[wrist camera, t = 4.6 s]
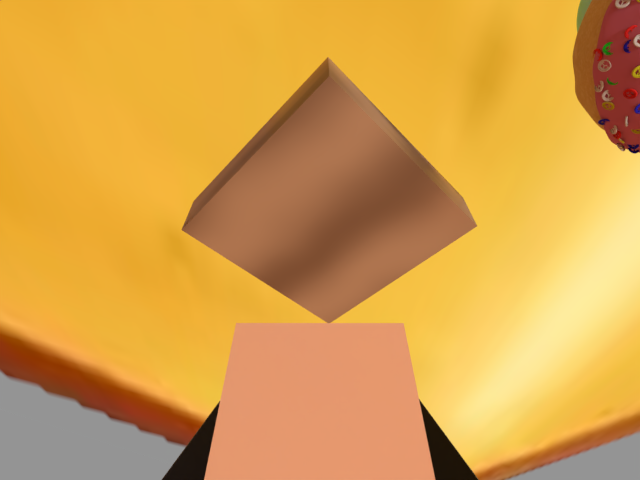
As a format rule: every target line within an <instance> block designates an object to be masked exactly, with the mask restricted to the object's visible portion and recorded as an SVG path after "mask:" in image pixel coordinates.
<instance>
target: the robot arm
mask: <svg viewBox="0 0 640 480" xmlns="http://www.w3.org/2000/svg"><path fill="white" fill-rule="evenodd" d="M419 401H420V399H419ZM219 404H220V401H219V402H218V404H217V405H216V407H215V408H214V409H213V411H212V412H211V413H210V415H209V416H208V417H207V419H206V420H205V421H204V423H203V424H202V426H201V427H200V428H199V430H198V431H197V432H196V434H195V435H194V436H193V438H192V439H191V440H190V442H189V443H188V444H187V446H186V447H185V449H184V450H183V451H182V453H181V454H180V455H179V457H178V458H177V459H176V461H175V462H174V463H173V465H172V466H171V468H170V469H169V470H168V472H167V473H166V474H165V476H164V477H163V478H162V480H204V478H205V473H206V468H207V463H208V458H209V453H210V448H211V444H212V439H213V434H214V429H215V424H216V419H217V414H218V409H219ZM420 406H421V411H422V416H423V421H424V426H425V431H426V436H427V441H428V446H429V451H430V456H431V461H432V466H433V470H434V475H435V480H479V479H478V478H477V477H476V475H475V474H474V473H473V471H472V470H471V468H470V467H469V466H468V464H467V463H466V462H465V460H464V459H463V458H462V456H461V455H460V454H459V452H458V451H457V449H456V448H455V447H454V445H453V444H452V443H451V441H450V440H449V439H448V437H447V436H446V435H445V433H444V432H443V431H442V429H441V428H440V426H439V425H438V424H437V422H436V421H435V420H434V418H433V417H432V416H431V414H430V413H429V412H428V410H427V409H426V407H425V406H424V405H423V403H422V402H421V401H420Z"/></svg>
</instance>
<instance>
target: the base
mask: <svg viewBox="0 0 640 480" xmlns="http://www.w3.org/2000/svg"><path fill="white" fill-rule="evenodd" d="M475 227H477V224H476V222H475V220H474V218H473V216H472V214H471V212H470V210H469V208H468V206H467V204H466V202H465V200H464V198H463V197H462V196H461V195H460V194H459V193H458V192H457V191H456V190H455V188H454V187H453V186H452V185H451V184H450V183H449V182H448V181H447V180H446V179H445V178H444V177H443V176H442V175H441V174H440V173H439V172H438V171H437V170H436V169H435V168H434V167H433V166H432V165H431V163H430V162H429V161H428V160H427V159H426V158H425V157H424V156H423V155H422V154H421V153H420V152H419V151H418V150H417V149H416V148H415V147H414V146H413V145H412V144H411V143H410V142H409V141H408V140H407V138H406V137H405V136H404V135H403V134H402V133H401V132H400V131H399V130H398V129H397V128H396V127H395V126H394V125H393V124H392V123H391V122H390V121H389V120H388V119H387V118H386V117H385V116H384V115H383V113H382V112H381V111H380V110H379V109H378V108H377V107H376V106H375V105H374V104H373V103H372V102H371V101H370V100H369V99H368V98H367V97H366V96H365V95H364V94H363V93H362V92H361V91H360V90H359V88H358V87H357V86H356V85H355V84H354V83H353V82H352V81H351V80H350V79H349V78H348V77H347V76H346V75H345V74H344V73H343V72H342V71H341V70H340V69H339V68H338V67H337V66H336V65H335V63H334V62H333V61H332V60H331V59H330V58H329V57H327V58H326V59H325V61H324V62H323V63H322V64H321V65H320V66H319V67H318V68H317V69H316V70H315V71H314V72H313V73H312V74H311V76H310V77H309V78H308V79H307V80H306V81H305V82H304V83H303V84H302V85H301V86H300V87H299V88H298V90H297V91H296V92H295V93H294V94H293V95H292V96H291V97H290V98H289V99H288V100H287V101H286V102H285V103H284V105H283V106H282V107H281V108H280V109H279V110H278V111H277V112H276V113H275V114H274V115H273V116H272V117H271V118H270V120H269V121H268V122H267V123H266V124H265V125H264V126H263V127H262V128H261V129H260V130H259V131H258V132H257V133H256V135H255V136H254V137H253V138H252V139H251V140H250V141H249V142H248V143H247V144H246V145H245V146H244V147H243V148H242V150H241V151H240V152H239V153H238V154H237V155H236V156H235V157H234V158H233V159H232V160H231V161H230V162H229V164H228V165H227V166H226V167H225V168H224V169H223V170H222V171H221V172H220V173H219V174H218V175H217V176H216V177H215V179H214V180H213V181H212V182H211V183H210V184H209V185H208V186H207V187H206V188H205V189H204V190H203V191H202V192H201V194H200V195H199V196H198V197H197V198H196V199H195V200H194V201H193V204H192V206H191V208H190V211H189V213H188V215H187V218H186V220H185V223H184V225H183V227H182V231H184V232H185V233H187V234H188V235H190V236H192V237H193V238H195V239H196V240H198V241H199V242H201V243H203V244H204V245H206V246H207V247H209V248H210V249H212V250H214V251H215V252H217V253H218V254H220V255H221V256H223V257H225V258H226V259H228V260H229V261H231V262H232V263H234V264H236V265H237V266H239V267H240V268H242V269H243V270H245V271H247V272H248V273H250V274H251V275H253V276H255V277H256V278H258V279H259V280H261V281H262V282H264V283H266V284H267V285H269V286H270V287H272V288H273V289H275V290H277V291H278V292H280V293H281V294H283V295H284V296H286V297H288V298H289V299H291V300H292V301H294V302H295V303H297V304H299V305H300V306H302V307H303V308H305V309H306V310H308V311H310V312H311V313H313V314H314V315H316V316H317V317H319V318H321V319H322V320H324V321H325V322H327V323H331V322H333V321H334V320H336V319H337V318H339V317H340V316H342V315H343V314H345V313H346V312H348V311H349V310H351V309H352V308H354V307H355V306H357V305H358V304H360V303H361V302H363V301H365V300H366V299H368V298H369V297H371V296H372V295H374V294H375V293H377V292H378V291H380V290H381V289H383V288H384V287H386V286H387V285H389V284H390V283H392V282H393V281H395V280H396V279H398V278H399V277H401V276H402V275H404V274H406V273H407V272H409V271H410V270H412V269H413V268H415V267H416V266H418V265H419V264H421V263H422V262H424V261H425V260H427V259H428V258H430V257H431V256H433V255H434V254H436V253H437V252H439V251H440V250H442V249H443V248H445V247H447V246H448V245H450V244H451V243H453V242H454V241H456V240H457V239H459V238H460V237H462V236H463V235H465V234H466V233H468V232H469V231H471V230H472V229H474V228H475Z"/></svg>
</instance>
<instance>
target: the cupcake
mask: <svg viewBox="0 0 640 480" xmlns="http://www.w3.org/2000/svg"><path fill="white" fill-rule="evenodd" d="M572 58H573V68H574V76H575V93H576V96H577V99H578V101H579V102H580V104H581V105H582V106H583V108H584V109H585V110H586V112H587V113H588V114H589V115H590V117H591V118H592V119H593V120H594V122H595V123H596V124H597V125H598V126H599V127H600V128H602V129H603V130H604V131H605V132H606V134H607V136H608V138H609V140H610V141H611V142H612V143H614V144H615V145H617V147H618V148H619V149H620V150H621V151H625V149H627V150H629V151H630V152H631V153H634V154H636V153H638V152H639V153H640V0H581V1H580V4H579V8H578V13H577V36H576V40H575V44H574V49H573V56H572Z"/></svg>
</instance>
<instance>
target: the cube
mask: <svg viewBox="0 0 640 480" xmlns="http://www.w3.org/2000/svg"><path fill="white" fill-rule="evenodd" d="M204 480H435V475H434V470H433V466H432V461H431V456H430V451H429V446H428V441H427V436H426V431H425V426H424V421H423V416H422V411H421V406H420V401H419V396H418V392H417V387H416V382H415V377H414V372H413V367H412V362H411V357H410V352H409V347H408V342H407V337H406V332H405V327H404V323H236V326H235V331H234V336H233V341H232V346H231V350H230V355H229V360H228V365H227V370H226V375H225V380H224V385H223V390H222V395H221V399H220V404H219V409H218V414H217V419H216V424H215V429H214V434H213V439H212V444H211V448H210V453H209V458H208V463H207V468H206V473H205V478H204Z"/></svg>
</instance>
